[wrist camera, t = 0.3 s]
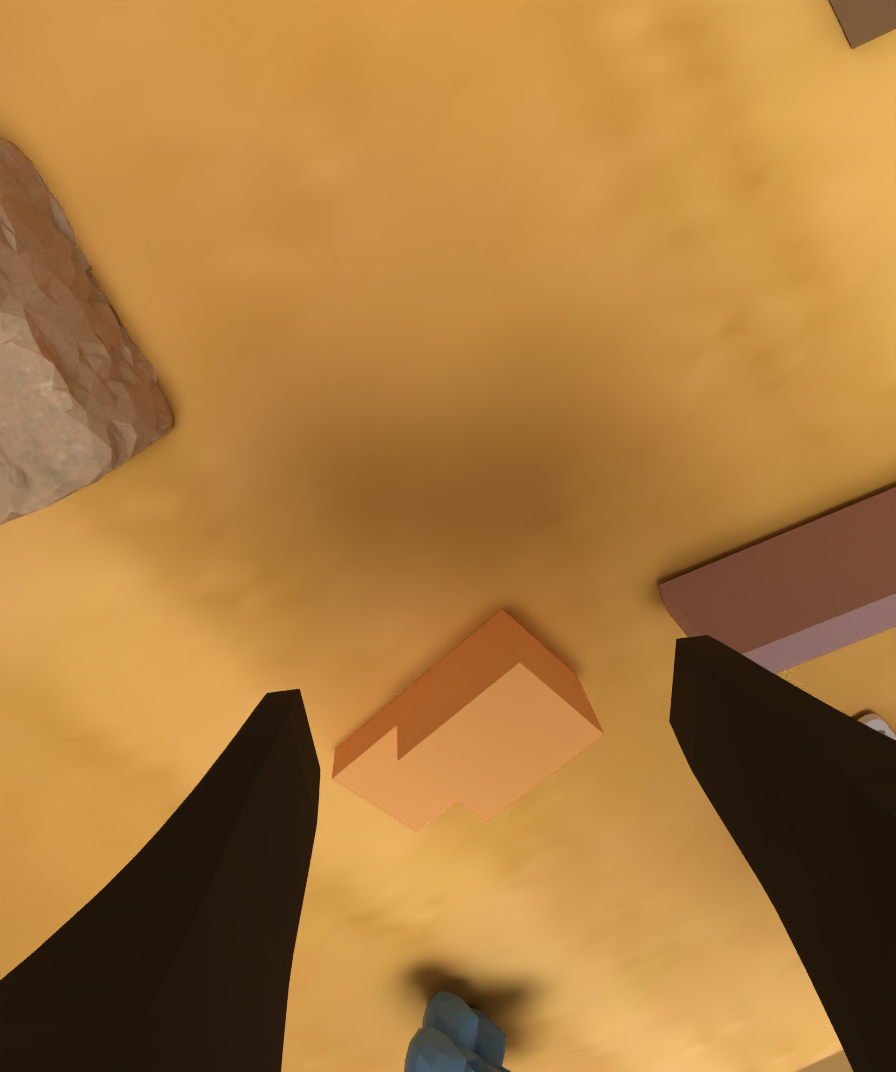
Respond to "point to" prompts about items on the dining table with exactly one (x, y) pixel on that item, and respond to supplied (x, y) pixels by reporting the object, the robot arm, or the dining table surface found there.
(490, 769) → the orange brown block
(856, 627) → the door
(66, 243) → the brick
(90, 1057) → the robot arm
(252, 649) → the dining table surface
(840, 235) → the dining table surface
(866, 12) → the wall frame
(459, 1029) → the grapes
